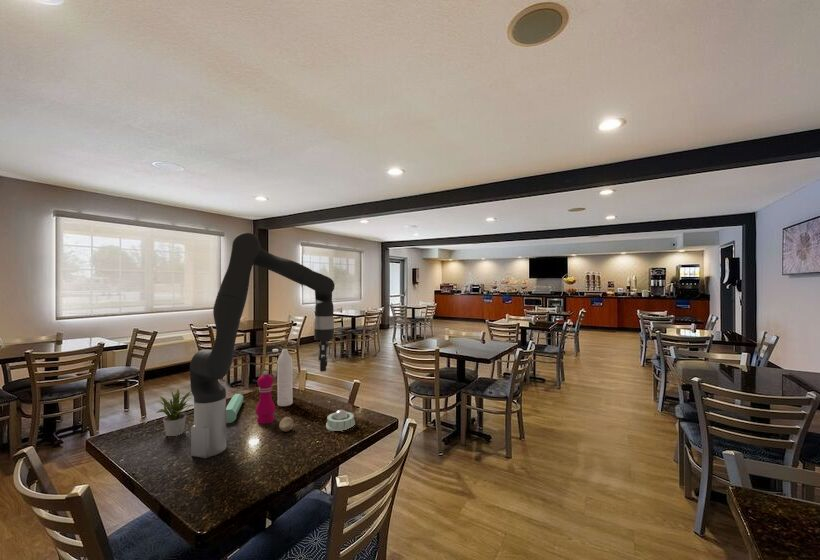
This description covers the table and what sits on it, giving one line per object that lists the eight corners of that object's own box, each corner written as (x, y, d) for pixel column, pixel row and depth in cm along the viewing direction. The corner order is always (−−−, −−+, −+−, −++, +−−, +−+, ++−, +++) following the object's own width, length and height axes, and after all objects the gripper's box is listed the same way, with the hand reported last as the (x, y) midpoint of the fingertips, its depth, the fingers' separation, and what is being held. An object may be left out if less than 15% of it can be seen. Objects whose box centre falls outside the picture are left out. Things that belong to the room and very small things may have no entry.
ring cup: (346, 433, 129) (346, 423, 129) (320, 429, 132) (320, 420, 132) (359, 421, 140) (359, 413, 140) (335, 418, 143) (335, 409, 143)
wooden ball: (287, 434, 128) (287, 420, 128) (276, 432, 130) (276, 419, 130) (296, 429, 133) (296, 415, 133) (285, 427, 135) (285, 414, 135)
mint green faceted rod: (234, 389, 162) (223, 407, 139) (247, 393, 164) (239, 411, 140) (229, 402, 162) (217, 422, 138) (242, 405, 163) (232, 425, 140)
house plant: (206, 433, 130) (206, 389, 130) (162, 447, 119) (161, 399, 119) (191, 423, 139) (191, 382, 139) (149, 435, 128) (149, 390, 128)
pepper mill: (270, 424, 137) (270, 373, 137) (252, 424, 137) (252, 373, 137) (278, 417, 144) (277, 368, 144) (260, 417, 145) (260, 368, 145)
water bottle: (294, 401, 164) (293, 347, 164) (290, 406, 157) (290, 350, 157) (274, 402, 163) (274, 348, 163) (270, 407, 156) (270, 350, 156)
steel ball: (343, 426, 133) (343, 413, 133) (331, 424, 134) (331, 411, 134) (349, 421, 138) (349, 408, 138) (338, 419, 139) (338, 407, 139)
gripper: (333, 329, 132) (332, 372, 132) (334, 325, 146) (334, 364, 146) (312, 329, 131) (312, 373, 131) (315, 325, 145) (315, 365, 145)
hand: (323, 368), depth 138 cm, fingers open, 8 cm apart
